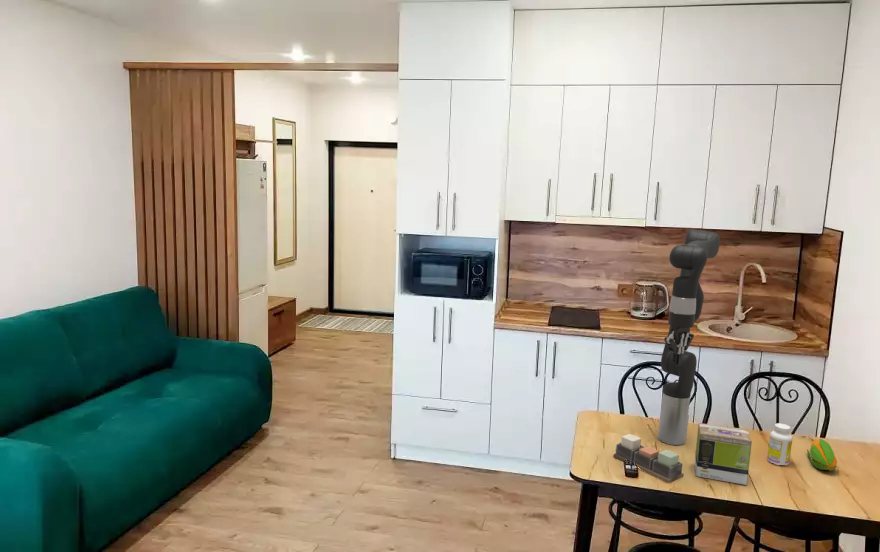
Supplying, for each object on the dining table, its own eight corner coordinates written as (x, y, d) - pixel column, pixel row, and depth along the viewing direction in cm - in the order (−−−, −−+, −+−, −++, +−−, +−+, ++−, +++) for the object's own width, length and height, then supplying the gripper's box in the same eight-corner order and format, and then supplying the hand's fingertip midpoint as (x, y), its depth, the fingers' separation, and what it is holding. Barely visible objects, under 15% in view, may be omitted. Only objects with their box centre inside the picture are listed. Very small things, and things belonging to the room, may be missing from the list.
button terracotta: (646, 457, 213) (647, 446, 212) (657, 462, 209) (659, 451, 208) (637, 460, 210) (639, 449, 209) (649, 466, 206) (650, 454, 206)
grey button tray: (628, 451, 220) (629, 439, 220) (683, 476, 204) (684, 463, 203) (613, 457, 216) (614, 444, 215) (668, 483, 199) (670, 469, 198)
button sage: (665, 461, 207) (666, 449, 206) (677, 466, 203) (678, 454, 203) (657, 464, 204) (658, 452, 203) (669, 470, 201) (670, 458, 200)
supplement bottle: (784, 458, 220) (789, 423, 218) (791, 467, 214) (797, 431, 212) (763, 456, 221) (768, 421, 219) (770, 465, 215) (775, 428, 213)
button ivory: (628, 445, 218) (630, 433, 217) (639, 449, 214) (641, 438, 214) (620, 448, 215) (621, 436, 214) (631, 453, 212) (632, 441, 211)
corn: (817, 451, 209) (804, 428, 228) (812, 472, 211) (800, 448, 229) (843, 457, 207) (828, 433, 226) (838, 478, 208) (823, 453, 227)
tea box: (743, 472, 209) (749, 429, 206) (746, 486, 200) (753, 441, 197) (693, 463, 214) (698, 421, 211) (694, 476, 204) (700, 432, 202)
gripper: (683, 306, 207) (677, 358, 210) (659, 310, 199) (653, 364, 202) (705, 311, 201) (698, 364, 204) (681, 315, 193) (674, 371, 196)
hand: (676, 364), depth 203 cm, fingers closed
